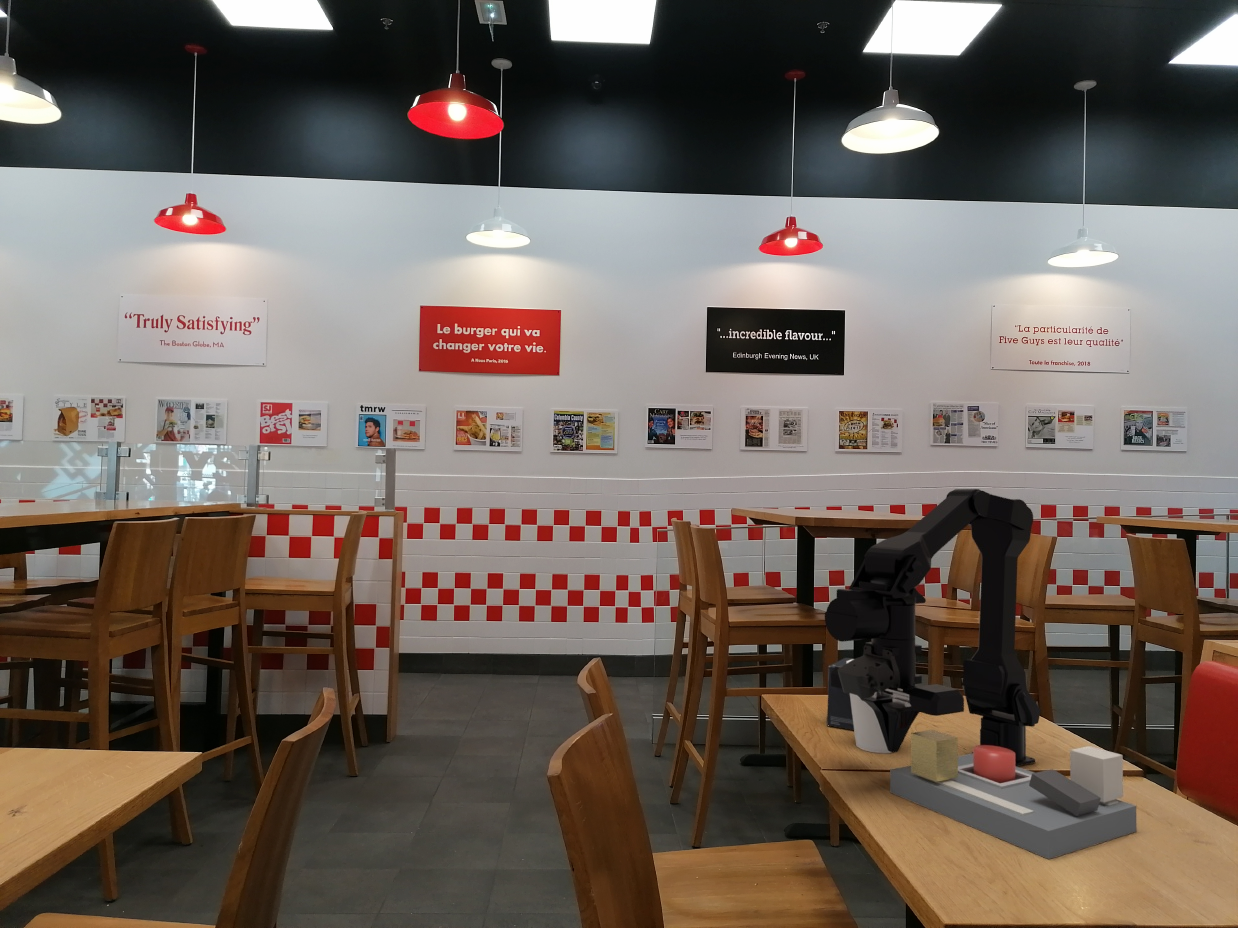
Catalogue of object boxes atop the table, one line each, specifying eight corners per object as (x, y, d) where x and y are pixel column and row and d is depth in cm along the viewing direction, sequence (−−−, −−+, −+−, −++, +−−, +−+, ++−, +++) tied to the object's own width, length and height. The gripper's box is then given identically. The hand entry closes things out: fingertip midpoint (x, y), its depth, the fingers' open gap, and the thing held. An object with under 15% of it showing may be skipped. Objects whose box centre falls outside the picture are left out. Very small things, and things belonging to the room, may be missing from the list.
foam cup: (912, 758, 119) (912, 672, 120) (848, 753, 121) (849, 668, 122) (902, 740, 128) (902, 660, 129) (844, 735, 130) (844, 656, 131)
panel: (974, 774, 112) (974, 750, 113) (1136, 831, 93) (1136, 802, 93) (890, 792, 104) (890, 767, 105) (1048, 859, 85) (1048, 828, 85)
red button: (989, 785, 106) (989, 743, 107) (1024, 798, 102) (1023, 753, 102) (965, 791, 104) (965, 747, 104) (999, 804, 100) (999, 758, 100)
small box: (863, 733, 132) (864, 670, 133) (825, 726, 136) (826, 665, 136) (879, 719, 141) (879, 660, 142) (843, 713, 145) (843, 656, 145)
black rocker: (1049, 780, 96) (1052, 768, 96) (1097, 809, 91) (1100, 797, 91) (1028, 785, 94) (1032, 773, 94) (1076, 815, 89) (1080, 803, 89)
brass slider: (932, 767, 104) (932, 729, 104) (957, 777, 101) (957, 737, 101) (910, 771, 102) (911, 732, 102) (936, 781, 99) (936, 741, 99)
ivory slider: (1089, 786, 98) (1089, 745, 98) (1123, 796, 95) (1122, 754, 95) (1070, 791, 96) (1070, 749, 97) (1103, 802, 93) (1103, 759, 93)
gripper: (802, 629, 113) (801, 740, 112) (906, 652, 96) (906, 781, 95) (859, 625, 118) (858, 731, 117) (966, 646, 102) (967, 769, 101)
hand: (892, 751), depth 107 cm, fingers closed
